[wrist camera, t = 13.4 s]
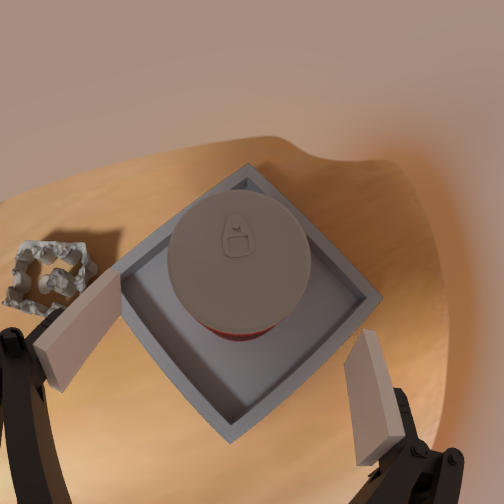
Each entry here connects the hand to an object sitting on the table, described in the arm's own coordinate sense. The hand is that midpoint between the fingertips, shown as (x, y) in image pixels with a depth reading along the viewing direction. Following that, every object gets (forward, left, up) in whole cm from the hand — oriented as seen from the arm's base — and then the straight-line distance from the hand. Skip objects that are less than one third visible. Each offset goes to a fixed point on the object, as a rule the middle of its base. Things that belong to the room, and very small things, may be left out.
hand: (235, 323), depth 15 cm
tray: (-2, +2, -11) cm, 12 cm away
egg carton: (-16, -11, -11) cm, 23 cm away
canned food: (-2, +2, -10) cm, 11 cm away
